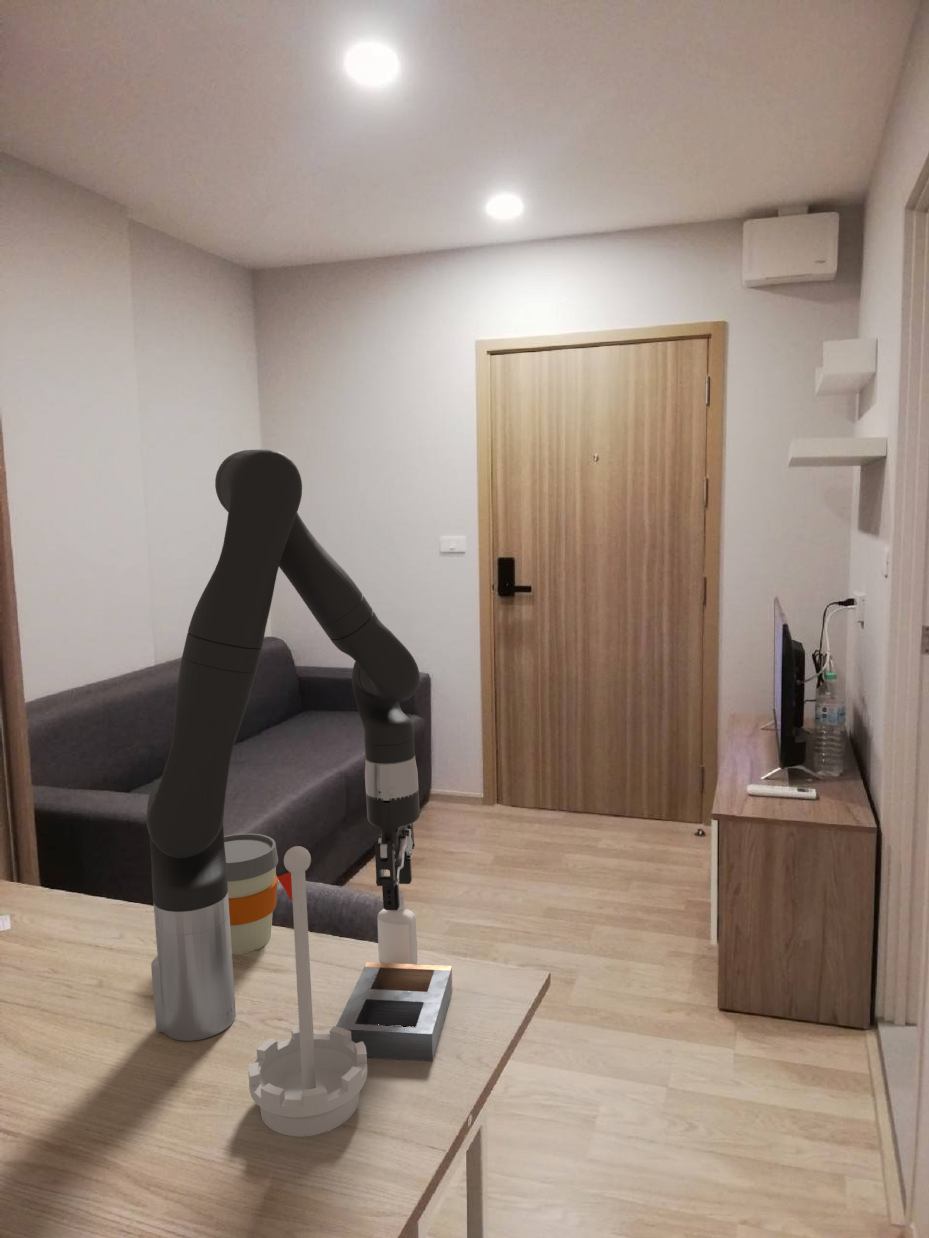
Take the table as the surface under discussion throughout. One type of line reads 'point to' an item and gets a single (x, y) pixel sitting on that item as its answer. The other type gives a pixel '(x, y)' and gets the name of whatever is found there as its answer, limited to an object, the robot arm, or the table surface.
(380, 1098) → the table surface
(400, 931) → the eye dropper bottle
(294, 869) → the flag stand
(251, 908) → the reusable coffee cup
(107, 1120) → the table surface
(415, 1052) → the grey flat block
